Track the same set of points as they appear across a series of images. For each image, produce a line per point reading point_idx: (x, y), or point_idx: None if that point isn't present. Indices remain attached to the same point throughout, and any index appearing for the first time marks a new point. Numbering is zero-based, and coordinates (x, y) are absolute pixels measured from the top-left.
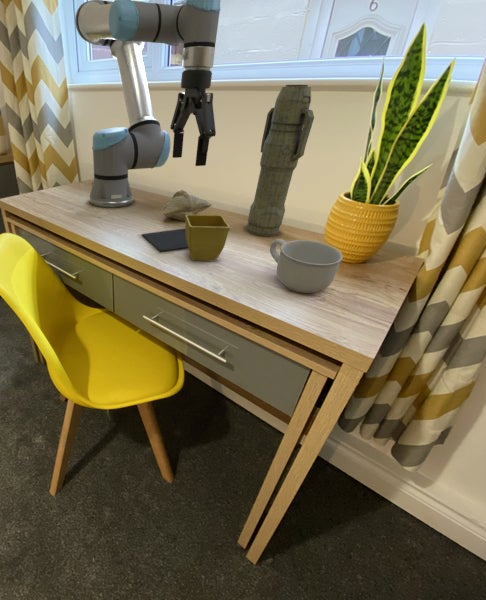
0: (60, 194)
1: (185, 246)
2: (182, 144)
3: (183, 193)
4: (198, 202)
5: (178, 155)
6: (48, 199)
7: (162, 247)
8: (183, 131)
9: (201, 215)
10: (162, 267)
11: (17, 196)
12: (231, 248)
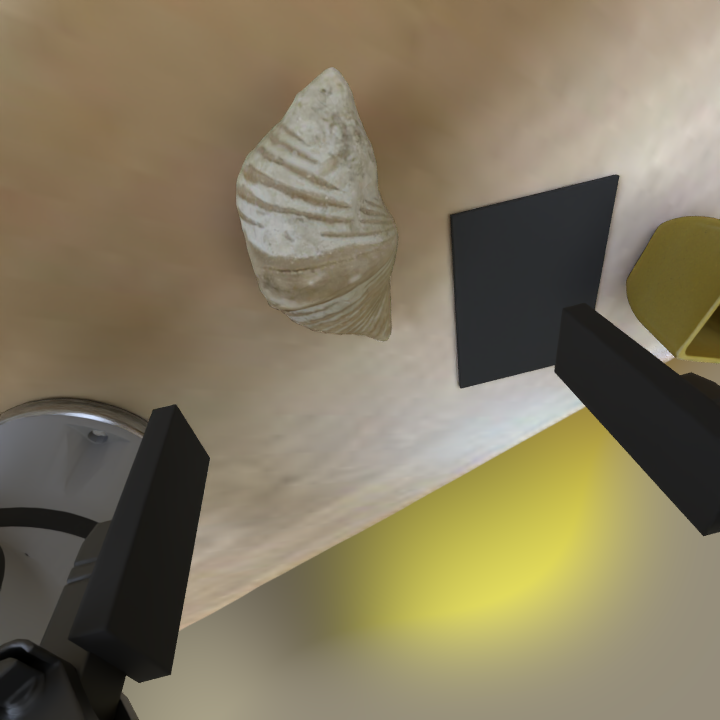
0: None
1: (593, 289)
2: (146, 499)
3: (350, 288)
4: (374, 188)
5: (189, 440)
6: None
7: None
8: (40, 655)
9: (714, 309)
10: None
11: None
12: (673, 126)
